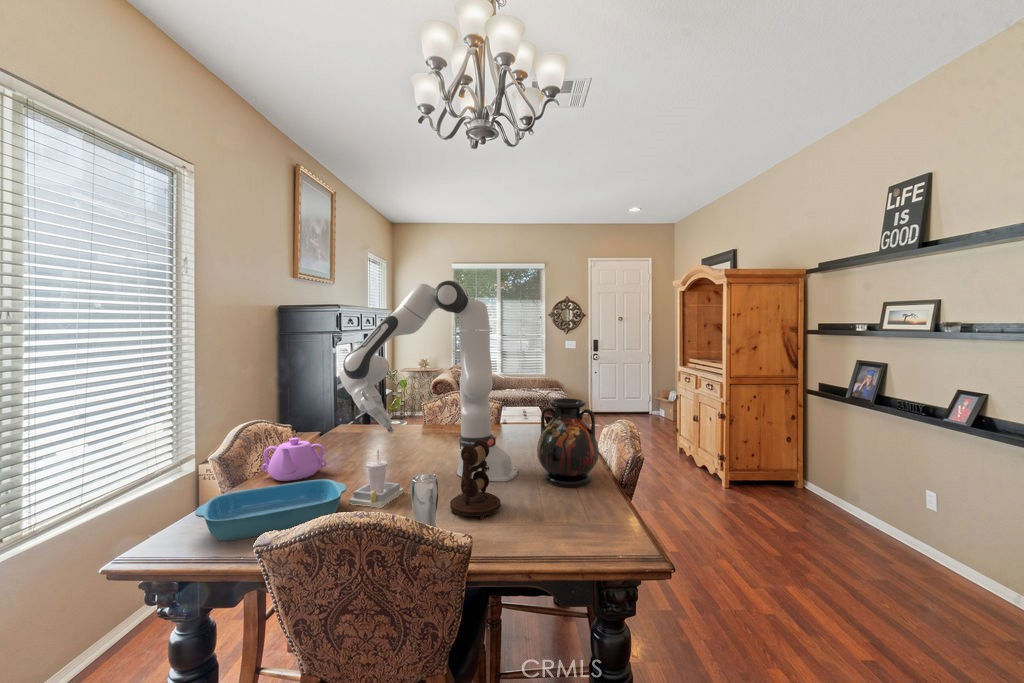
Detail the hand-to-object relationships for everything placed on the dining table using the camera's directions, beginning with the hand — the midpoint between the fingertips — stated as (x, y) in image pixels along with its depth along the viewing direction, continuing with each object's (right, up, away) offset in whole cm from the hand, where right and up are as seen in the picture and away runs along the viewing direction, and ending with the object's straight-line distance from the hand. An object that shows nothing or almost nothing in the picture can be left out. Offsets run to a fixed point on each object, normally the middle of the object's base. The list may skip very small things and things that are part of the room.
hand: (388, 428), depth 155 cm
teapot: (-35, -18, +2) cm, 39 cm away
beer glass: (+21, -19, -43) cm, 51 cm away
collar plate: (+2, -18, -18) cm, 26 cm away
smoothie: (+2, -17, -18) cm, 25 cm away
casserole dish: (-22, -19, -33) cm, 44 cm away
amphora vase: (+64, -18, -2) cm, 66 cm away
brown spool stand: (+33, -19, -27) cm, 47 cm away
